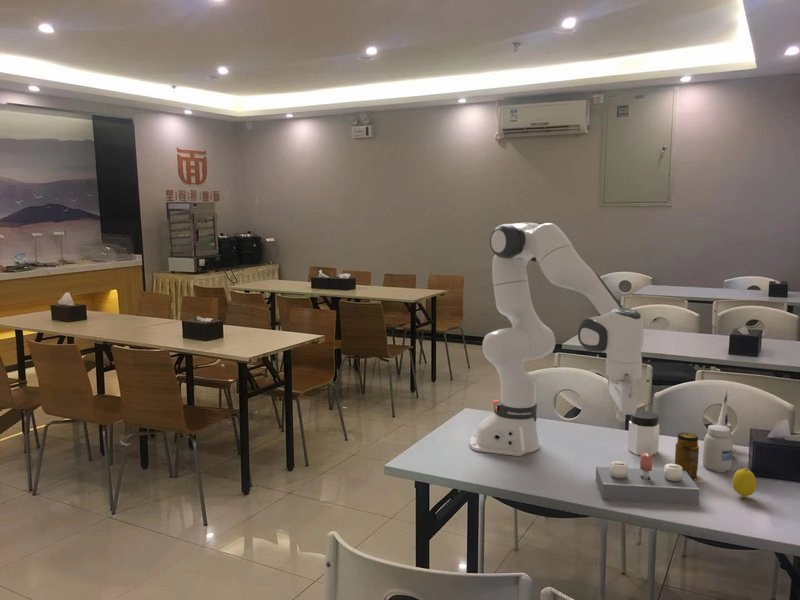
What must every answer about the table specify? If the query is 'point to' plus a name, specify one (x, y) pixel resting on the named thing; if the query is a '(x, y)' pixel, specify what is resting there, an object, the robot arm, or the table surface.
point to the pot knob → (646, 464)
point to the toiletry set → (719, 443)
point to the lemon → (744, 482)
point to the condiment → (688, 454)
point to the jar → (643, 433)
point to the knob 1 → (618, 469)
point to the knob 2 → (673, 472)
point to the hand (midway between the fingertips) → (620, 419)
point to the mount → (646, 487)
